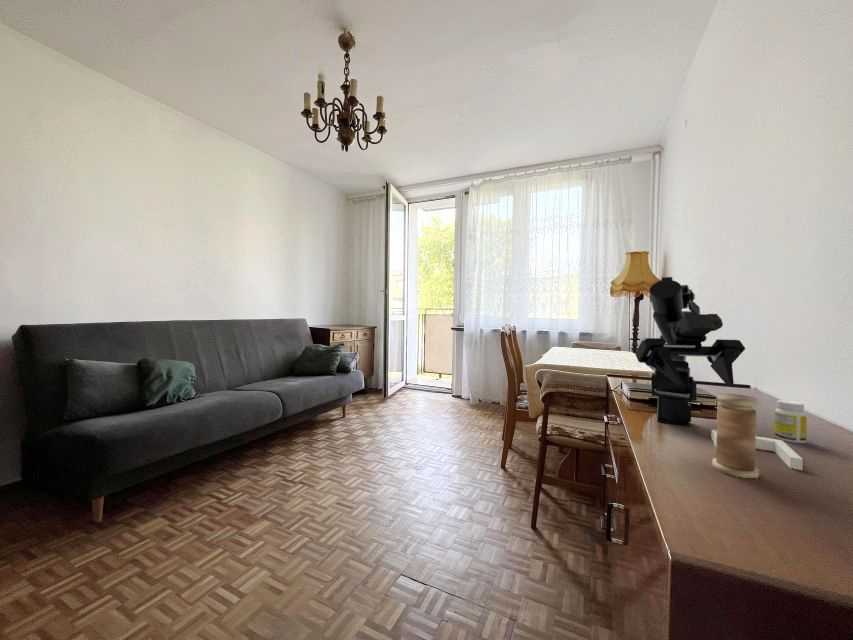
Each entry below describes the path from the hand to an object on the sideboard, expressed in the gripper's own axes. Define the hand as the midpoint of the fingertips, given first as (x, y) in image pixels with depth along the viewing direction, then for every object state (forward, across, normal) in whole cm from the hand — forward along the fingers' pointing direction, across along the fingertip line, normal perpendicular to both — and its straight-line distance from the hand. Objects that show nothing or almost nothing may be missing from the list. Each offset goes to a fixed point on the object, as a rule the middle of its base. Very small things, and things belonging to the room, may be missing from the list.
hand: (705, 384), depth 66 cm
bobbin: (+15, 0, +4) cm, 16 cm away
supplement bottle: (+2, +24, +18) cm, 30 cm away
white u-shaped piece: (+9, +9, +10) cm, 16 cm away
